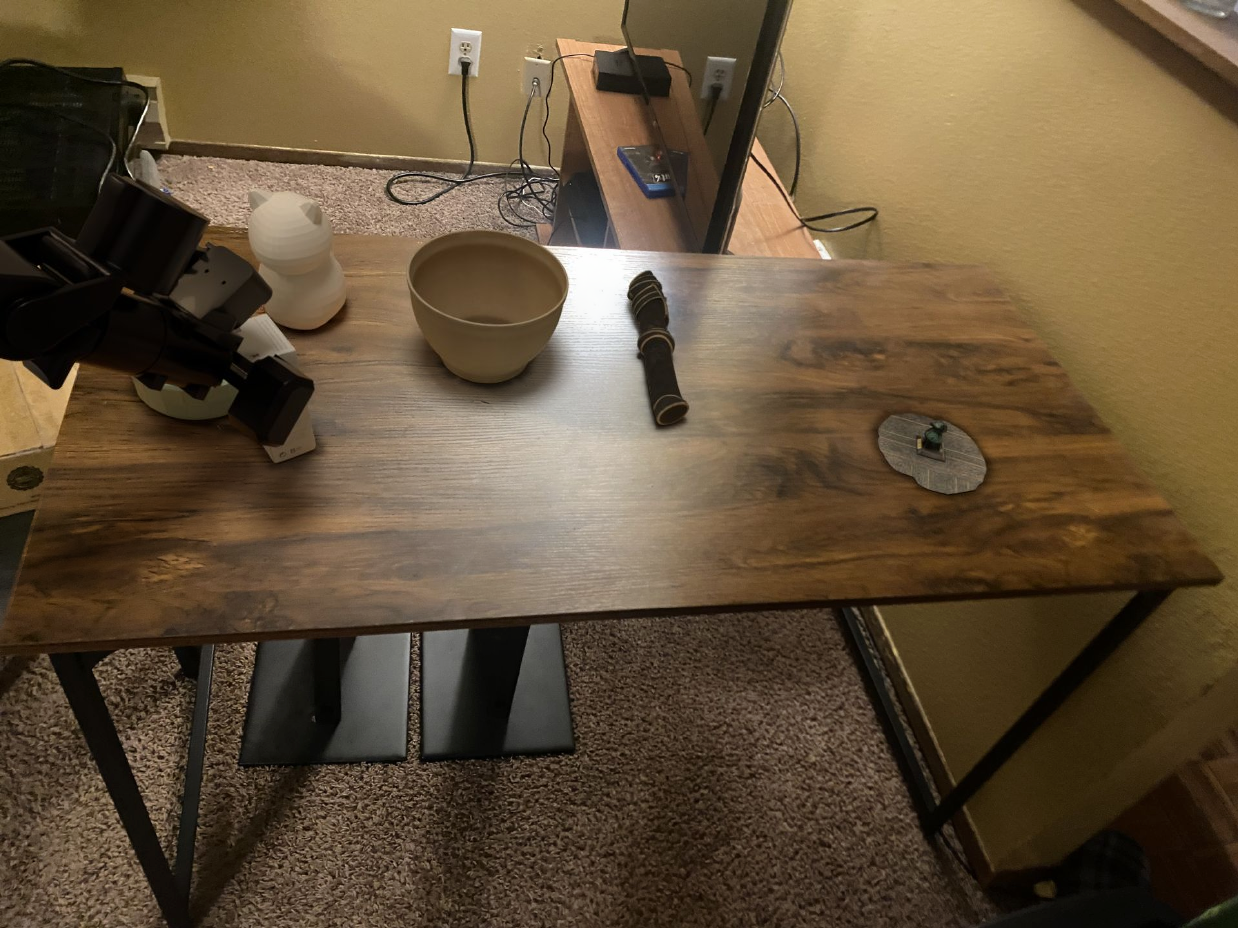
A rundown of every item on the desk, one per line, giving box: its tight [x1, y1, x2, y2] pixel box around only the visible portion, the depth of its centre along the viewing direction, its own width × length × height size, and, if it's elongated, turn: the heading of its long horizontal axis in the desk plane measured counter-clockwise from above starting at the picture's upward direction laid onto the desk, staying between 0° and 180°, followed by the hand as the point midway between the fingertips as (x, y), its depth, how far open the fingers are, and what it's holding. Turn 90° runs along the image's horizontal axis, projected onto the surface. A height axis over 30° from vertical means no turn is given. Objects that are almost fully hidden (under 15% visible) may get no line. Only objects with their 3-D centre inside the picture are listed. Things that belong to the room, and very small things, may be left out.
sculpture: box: [877, 412, 987, 495], centre depth 92 cm, size 12×9×8 cm
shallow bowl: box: [130, 376, 239, 421], centre depth 82 cm, size 12×12×4 cm
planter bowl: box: [405, 228, 570, 384], centre depth 88 cm, size 16×16×11 cm
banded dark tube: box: [626, 269, 690, 426], centre depth 95 cm, size 4×5×25 cm
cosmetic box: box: [232, 313, 317, 464], centre depth 75 cm, size 6×4×12 cm
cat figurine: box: [247, 187, 348, 331], centre depth 87 cm, size 9×12×15 cm
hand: (283, 379), depth 75 cm, fingers closed on cosmetic box, 6 cm apart
